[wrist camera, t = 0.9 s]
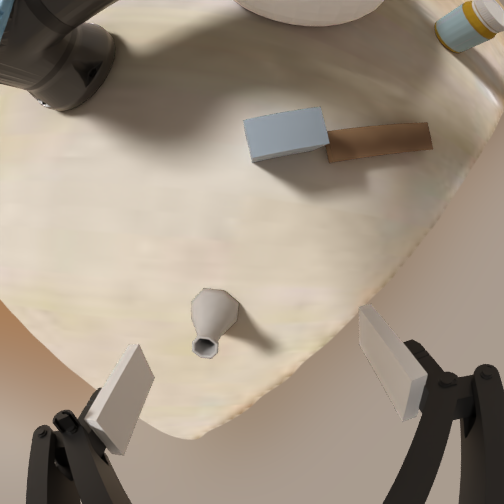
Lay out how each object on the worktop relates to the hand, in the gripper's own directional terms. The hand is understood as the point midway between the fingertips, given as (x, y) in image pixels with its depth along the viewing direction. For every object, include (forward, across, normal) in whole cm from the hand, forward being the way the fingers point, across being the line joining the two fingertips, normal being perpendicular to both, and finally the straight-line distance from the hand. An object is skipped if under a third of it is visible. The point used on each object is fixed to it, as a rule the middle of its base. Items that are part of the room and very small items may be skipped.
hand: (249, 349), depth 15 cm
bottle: (+24, +42, +31) cm, 57 cm away
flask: (+24, -7, -9) cm, 26 cm away
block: (+24, +20, +11) cm, 33 cm away
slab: (+24, +6, +13) cm, 28 cm away
